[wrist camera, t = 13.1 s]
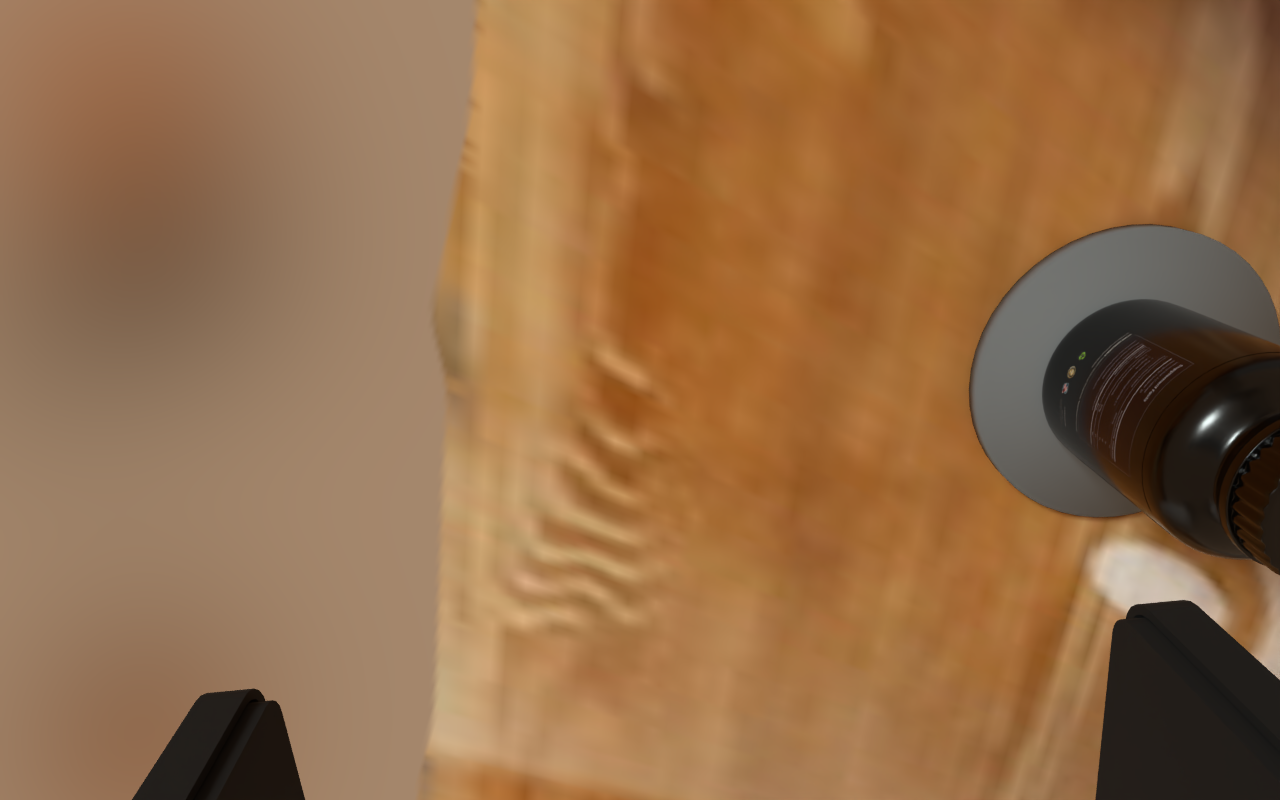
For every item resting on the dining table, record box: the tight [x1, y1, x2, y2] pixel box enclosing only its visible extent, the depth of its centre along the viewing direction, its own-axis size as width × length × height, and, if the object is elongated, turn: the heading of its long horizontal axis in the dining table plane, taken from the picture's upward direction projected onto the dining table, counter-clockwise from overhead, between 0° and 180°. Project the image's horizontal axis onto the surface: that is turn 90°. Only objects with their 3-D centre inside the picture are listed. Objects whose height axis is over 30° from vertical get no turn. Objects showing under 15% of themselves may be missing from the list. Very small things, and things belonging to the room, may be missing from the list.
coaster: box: [969, 224, 1280, 517], centre depth 37 cm, size 12×12×1 cm
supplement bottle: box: [1042, 299, 1280, 575], centre depth 31 cm, size 7×7×12 cm
